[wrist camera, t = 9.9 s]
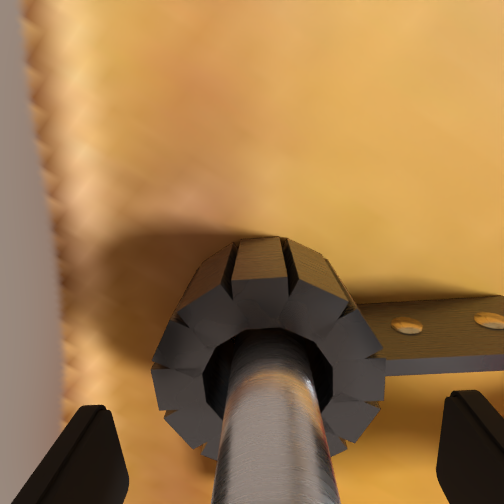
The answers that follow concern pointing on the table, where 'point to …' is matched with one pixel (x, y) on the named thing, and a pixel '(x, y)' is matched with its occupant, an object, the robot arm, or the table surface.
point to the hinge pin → (272, 426)
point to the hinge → (310, 338)
